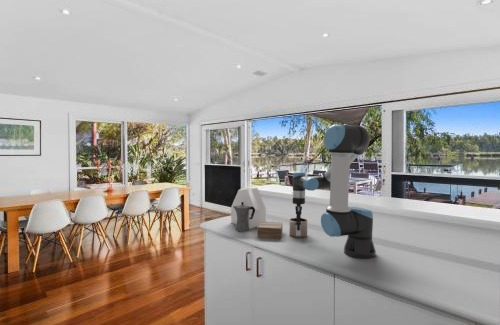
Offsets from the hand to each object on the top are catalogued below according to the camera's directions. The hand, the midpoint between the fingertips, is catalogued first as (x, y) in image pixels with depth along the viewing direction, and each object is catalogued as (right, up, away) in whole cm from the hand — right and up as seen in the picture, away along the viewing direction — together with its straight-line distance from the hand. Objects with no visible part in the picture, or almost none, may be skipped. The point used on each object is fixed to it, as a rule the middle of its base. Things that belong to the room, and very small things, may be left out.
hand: (298, 232), depth 182 cm
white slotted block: (-31, 0, +27) cm, 41 cm away
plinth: (-17, -1, +1) cm, 17 cm away
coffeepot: (-34, -1, +12) cm, 36 cm away
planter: (0, -2, 0) cm, 2 cm away
